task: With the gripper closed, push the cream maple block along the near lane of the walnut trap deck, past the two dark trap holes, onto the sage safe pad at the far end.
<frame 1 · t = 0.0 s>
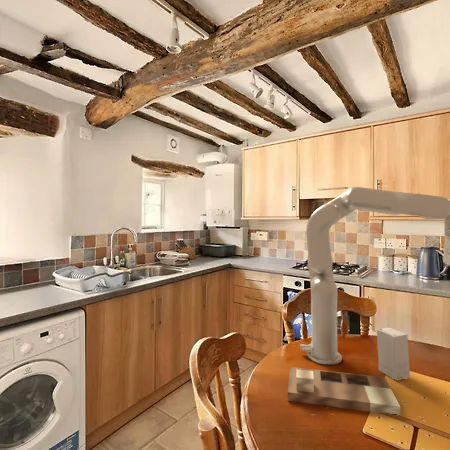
trap deck: (338, 392, 93), on the table
skincare box: (393, 374, 103), on the table
maple block: (305, 387, 91), point 2 cm above the table, touching trap deck
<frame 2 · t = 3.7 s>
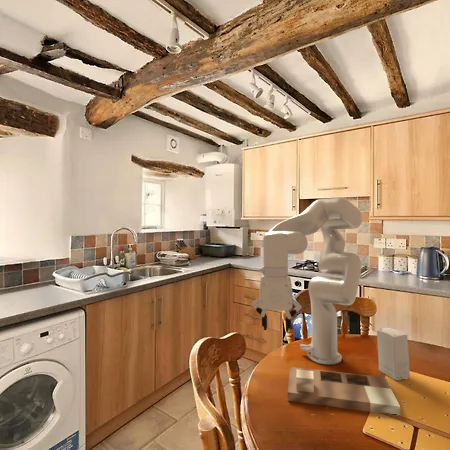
hand: (276, 329, 93), 20 cm above the table, tool pointing down, fingers open, 6 cm apart
nothing on the table moved.
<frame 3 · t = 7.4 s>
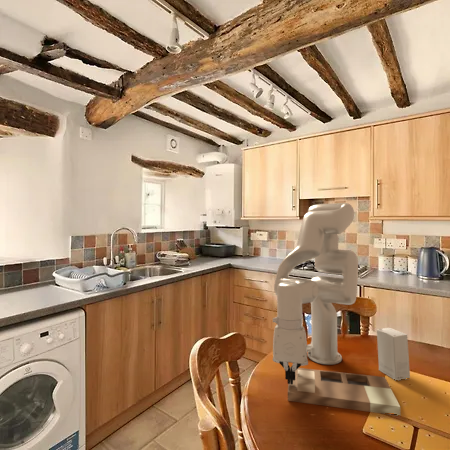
hand: (290, 381, 92), 4 cm above the table, tool pointing down, fingers closed
maple block: (306, 387, 91), point 3 cm above the table, touching gripper
everything else where it was.
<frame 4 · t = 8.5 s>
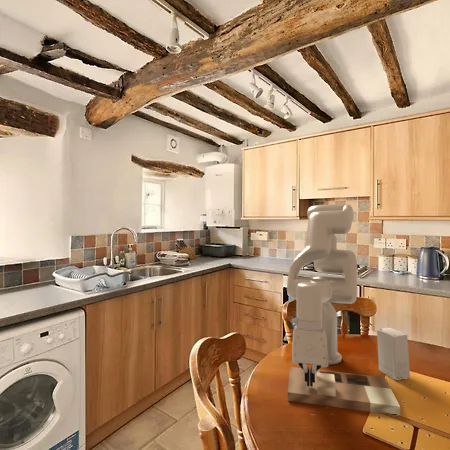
hand: (309, 383, 91), 4 cm above the table, tool pointing down, fingers closed
maple block: (326, 390, 89), point 3 cm above the table, touching gripper
everything else where it was.
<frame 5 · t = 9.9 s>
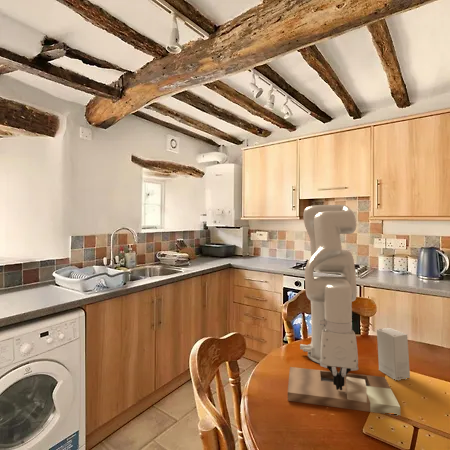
hand: (338, 387, 89), 4 cm above the table, tool pointing down, fingers closed
maple block: (356, 396, 86), point 3 cm above the table, touching gripper, trap deck
everything else where it was.
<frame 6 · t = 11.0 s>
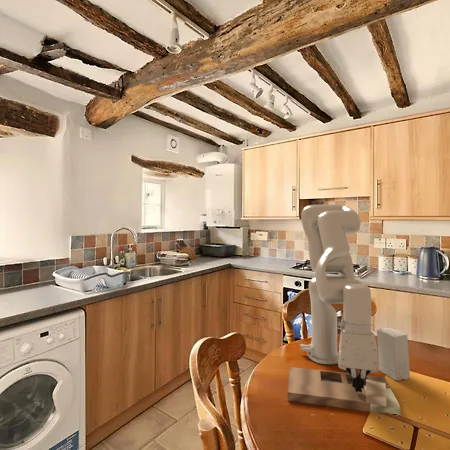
hand: (357, 389, 87), 4 cm above the table, tool pointing down, fingers closed
maple block: (375, 399, 84), point 2 cm above the table, touching gripper, trap deck
everything else where it was.
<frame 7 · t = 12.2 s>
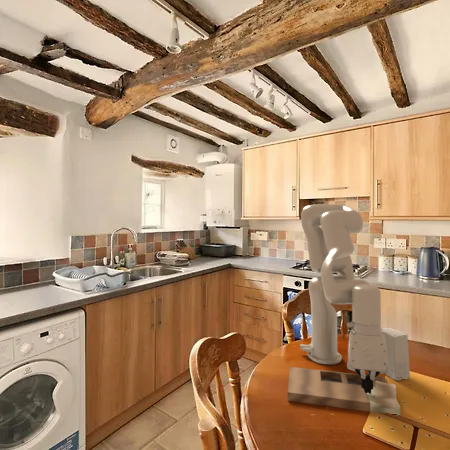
hand: (367, 390, 87), 4 cm above the table, tool pointing down, fingers closed
maple block: (385, 401, 84), point 2 cm above the table, touching gripper, trap deck
everything else where it was.
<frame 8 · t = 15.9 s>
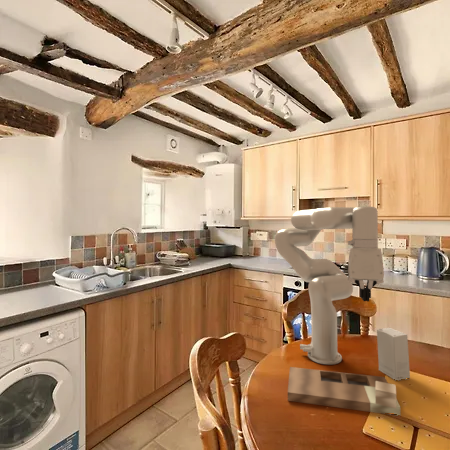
hand: (365, 300, 98), 27 cm above the table, tool pointing down, fingers closed
maple block: (385, 401, 84), point 2 cm above the table, touching trap deck
everything else where it was.
at the end: maple block inside the target area on the trap deck (2.2 cm from its centre), point 2.5 cm above the trap deck's base; maple block tilted 0° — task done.
